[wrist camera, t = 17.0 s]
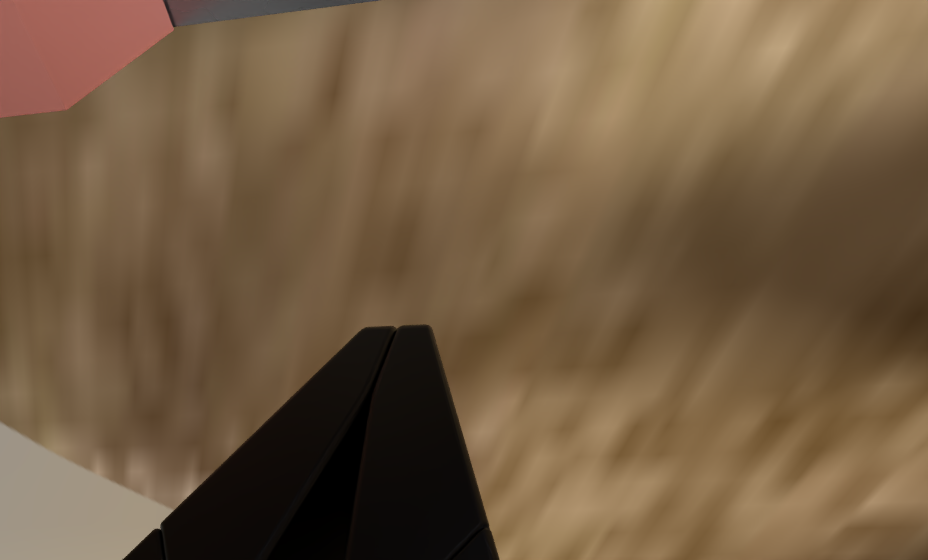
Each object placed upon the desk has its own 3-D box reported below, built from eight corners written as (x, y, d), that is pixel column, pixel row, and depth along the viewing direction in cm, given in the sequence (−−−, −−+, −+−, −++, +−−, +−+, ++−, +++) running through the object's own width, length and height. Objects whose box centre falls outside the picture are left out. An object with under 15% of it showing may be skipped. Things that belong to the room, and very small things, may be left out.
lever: (131, -84, 16) (-4, -33, 12) (173, 30, 17) (66, 110, 13) (30, -68, 16) (-136, -13, 12) (80, 42, 17) (-53, 123, 13)
